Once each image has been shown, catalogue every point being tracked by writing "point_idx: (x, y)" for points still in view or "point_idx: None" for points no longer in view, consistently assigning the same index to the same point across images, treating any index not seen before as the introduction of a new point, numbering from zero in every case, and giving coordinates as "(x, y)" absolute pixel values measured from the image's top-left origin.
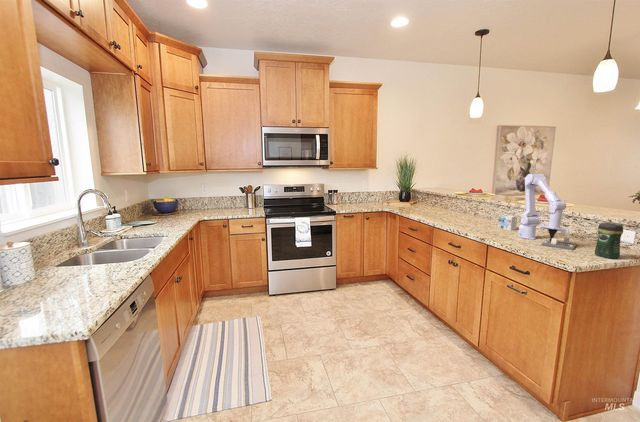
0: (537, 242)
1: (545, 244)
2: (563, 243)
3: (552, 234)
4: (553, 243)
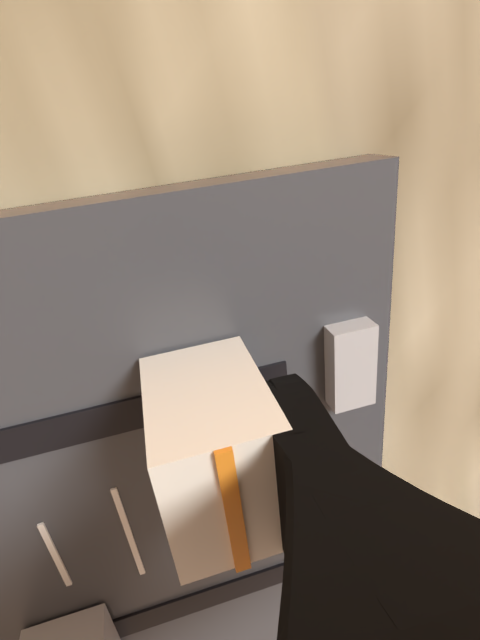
0: (453, 363)
1: (315, 167)
2: (86, 567)
3: (355, 549)
4: (194, 354)
